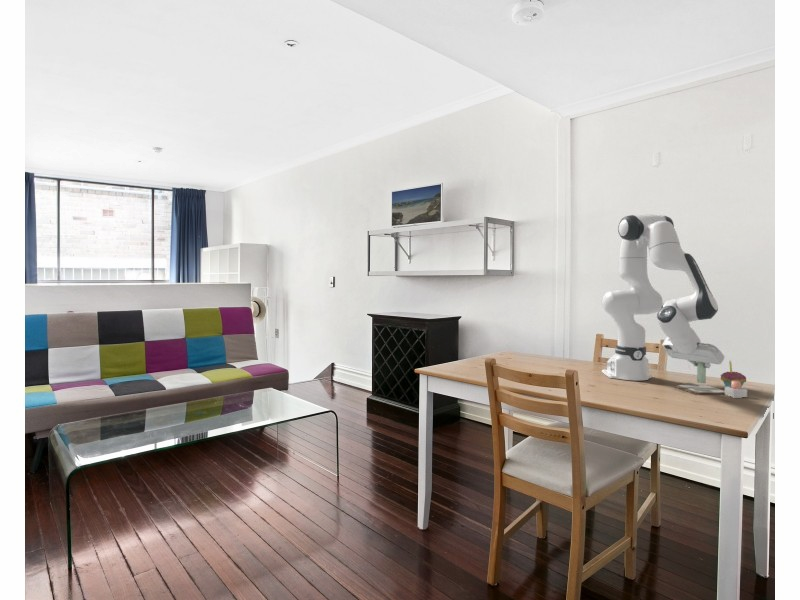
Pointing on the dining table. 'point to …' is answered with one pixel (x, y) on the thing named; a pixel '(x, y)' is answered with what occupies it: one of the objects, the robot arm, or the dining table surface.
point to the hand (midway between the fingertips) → (702, 366)
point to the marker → (701, 373)
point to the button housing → (735, 392)
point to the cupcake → (732, 377)
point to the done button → (735, 384)
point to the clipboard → (700, 389)
